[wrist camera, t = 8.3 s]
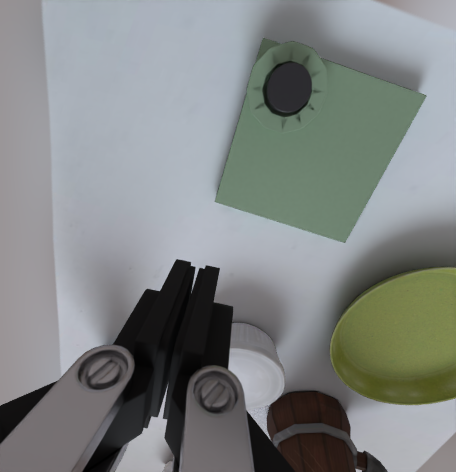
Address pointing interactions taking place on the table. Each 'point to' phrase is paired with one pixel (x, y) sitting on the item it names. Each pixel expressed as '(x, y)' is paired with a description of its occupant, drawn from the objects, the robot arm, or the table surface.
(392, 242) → the table surface
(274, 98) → the button
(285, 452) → the mug
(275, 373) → the ramekin
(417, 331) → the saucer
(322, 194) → the scale
